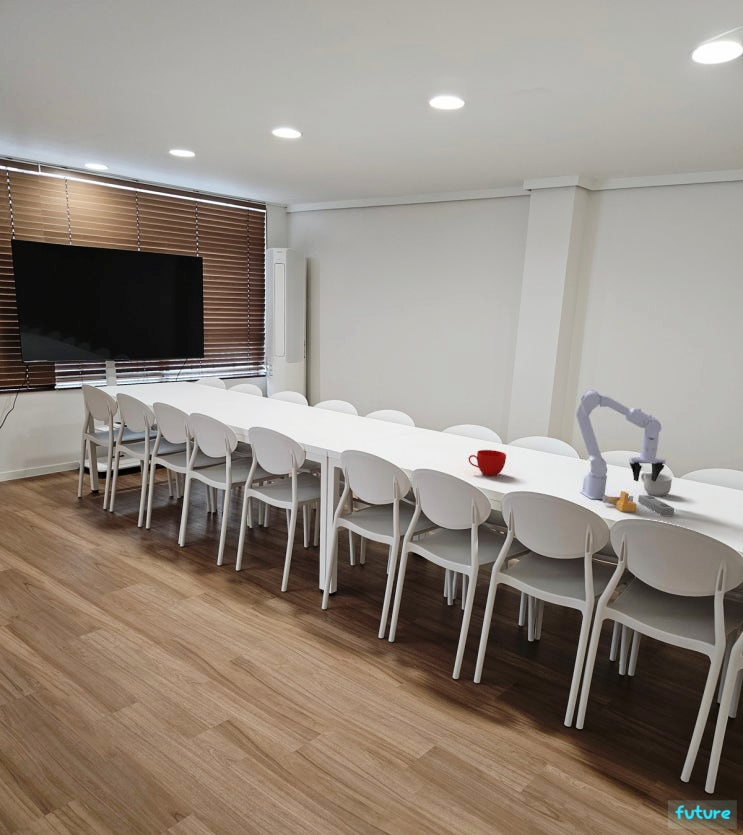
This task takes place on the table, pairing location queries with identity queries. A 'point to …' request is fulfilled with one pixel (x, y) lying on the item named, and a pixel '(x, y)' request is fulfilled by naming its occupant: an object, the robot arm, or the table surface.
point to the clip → (614, 499)
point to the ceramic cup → (489, 462)
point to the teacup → (657, 484)
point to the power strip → (656, 505)
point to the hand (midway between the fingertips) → (644, 480)
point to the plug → (625, 503)
